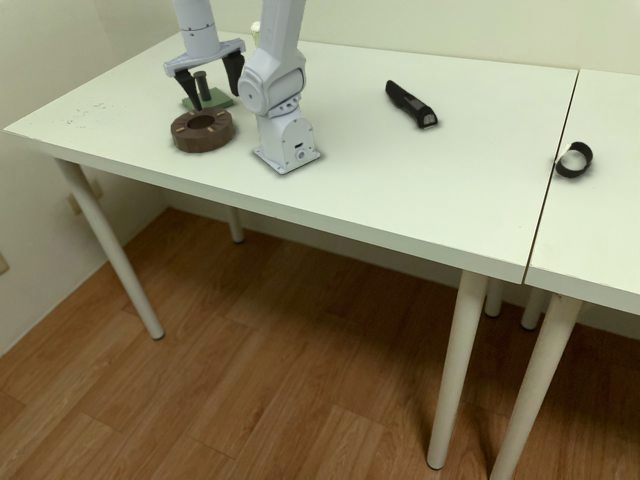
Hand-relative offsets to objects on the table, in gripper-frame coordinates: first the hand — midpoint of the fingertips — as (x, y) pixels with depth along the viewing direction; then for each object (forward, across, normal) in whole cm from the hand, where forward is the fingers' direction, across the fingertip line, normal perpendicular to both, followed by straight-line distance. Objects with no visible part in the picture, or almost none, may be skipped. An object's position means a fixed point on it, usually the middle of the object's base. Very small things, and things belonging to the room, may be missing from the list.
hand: (217, 101), depth 85 cm
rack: (+6, -2, -11) cm, 13 cm away
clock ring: (+5, +4, 0) cm, 7 cm away
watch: (+5, -34, +50) cm, 60 cm away
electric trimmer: (+6, -29, +20) cm, 35 cm away
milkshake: (+6, -22, -20) cm, 30 cm away
